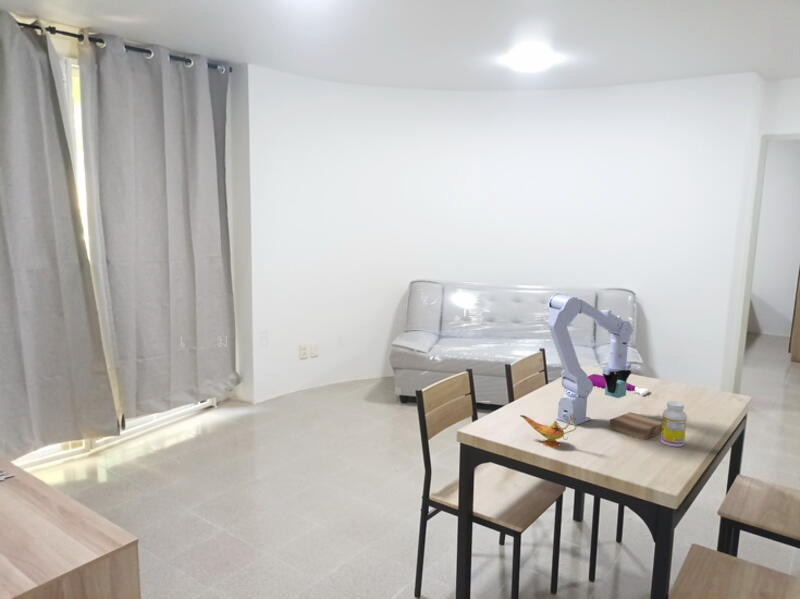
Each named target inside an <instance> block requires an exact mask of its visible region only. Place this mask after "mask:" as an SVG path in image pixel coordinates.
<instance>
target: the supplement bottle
mask: <svg viewBox="0 0 800 599" xmlns="http://www.w3.org/2000/svg"><path fill="white" fill-rule="evenodd" d="M666 407H667V408H666V409H664V410H663V412H662V418H661V420H662V421H661V422H662V430H661V433H660V434H661V435H660V441H661V443H662V444H664V445H666V446H670V447H674V448H676V447H677V448H679V447H683V446H684V445H685V441H686V428H687V418H688V416H687V413H686V412H685V411H684V409H685V404H684V403H683V402H681V401H673V400H669V401H667V403H666Z"/></svg>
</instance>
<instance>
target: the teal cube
mask: <svg viewBox="0 0 800 599" xmlns="http://www.w3.org/2000/svg"><path fill="white" fill-rule="evenodd" d="M627 383H628V382H627V381H626V382H625V381H621V380H617V383H616V389H615V392H614V393H610V392H608V389H607V384H606V387H605V389H604V395H605V396H609V397H611V398H615V399H620V398H623V397H626V396H627V390H626V386H627Z"/></svg>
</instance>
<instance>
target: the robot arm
mask: <svg viewBox="0 0 800 599" xmlns="http://www.w3.org/2000/svg"><path fill="white" fill-rule="evenodd" d="M547 310H548V322H547V323H548V328H549V332H550V334H551V337H552V340H553V342H554V346H555V349H556V352H557V353H558V357H559V360H560V363H561V366H562V371H561V372H560V375H561V386H562V387H563V389H564V396H563V397H561V398H560V399H559V401H558V409H557V410H558V411H557V412H558V413H557V416H555V419H556V420H558V421H562V422H564V423H567V424H568V422H569V419H570V417H571V415H572V414H574V416H572V418H574V419H572V420H573V421H574V422H575V424H576V426H577V425H579V424H583V423H586V422H588V421H591V420H592V417H589V416H587V406H588V397H589V395H590V394H591V393H592V391H593V389H594V388H593V387H594V386H593V384H592V381H591V380H590V379H589V378H588V374H587V372H585V371H584V370H583V369H582V367H581V366H580V365H581V364H580V362H579V360H578V356H577V353H576V350H575V347H574V344H573V342H572V339H571V336H570V333H569V330H568V325H570V324H571V323H572V322H573V321H574V320H575V318H576V317H577V316H578V315H579V314H581V315H582V314H583V315H585V316H587V317H590V318H592V319H594V322H595V324H596V326H598V327H601V328H602V329H604V330H606V331H607V332H608V333H609V334H610V344H609V356H608V364H607V366H605V367H603V368H602V376H604V378H605V380H606V384H607V389H608V392H610V393H614V392H615V389H616V383H617V380H621V381H625V382H627V380H628V378H629V377H630V375H631V374H632V370H630V369H631V368H632V363H631V362H628V361H627V359H628V345H629V341H630V338H631V335H632V334H633V332H634V331H633V330H634V328H633V327H632V324H631V323H630V321H627V320H624V319H622V318H621V315H615V314H614V313H612V310H611V309H610V310H609V309H601V310H599V309H597V308H596V307H595V306H593V305H591V304H590V303H588V302H587V301H585V300H583V299H580V298H578V297H575V296H568V295H564V294H561V293H554V294H553V295H552V296H551V297H550V298H549V301H548V303H547ZM569 415H570V416H569ZM570 420H571V419H570ZM572 420H571V421H570V422H569V425H572V426H575V424H574V423H573V421H572Z"/></svg>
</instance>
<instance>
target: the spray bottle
mask: <svg viewBox="0 0 800 599" xmlns="http://www.w3.org/2000/svg"><path fill="white" fill-rule="evenodd" d="M587 377H588V378H589V379H590V380H591V381H592V384H593V387H595V386H597V387H596V388H600V387H601V388H600V389H604V388H605V387H606V380H605V378H604V376H603V374H597V373H592V374H590V375H587ZM629 390H630V393H636V394H639V395H640V396H641V397H642V396H645V395H647V394H649V392H650V391H649V388H643V387H642V388H641V387H639V386H636V385H634V384H630V383H628V382H627V386H626V391H629Z"/></svg>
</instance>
